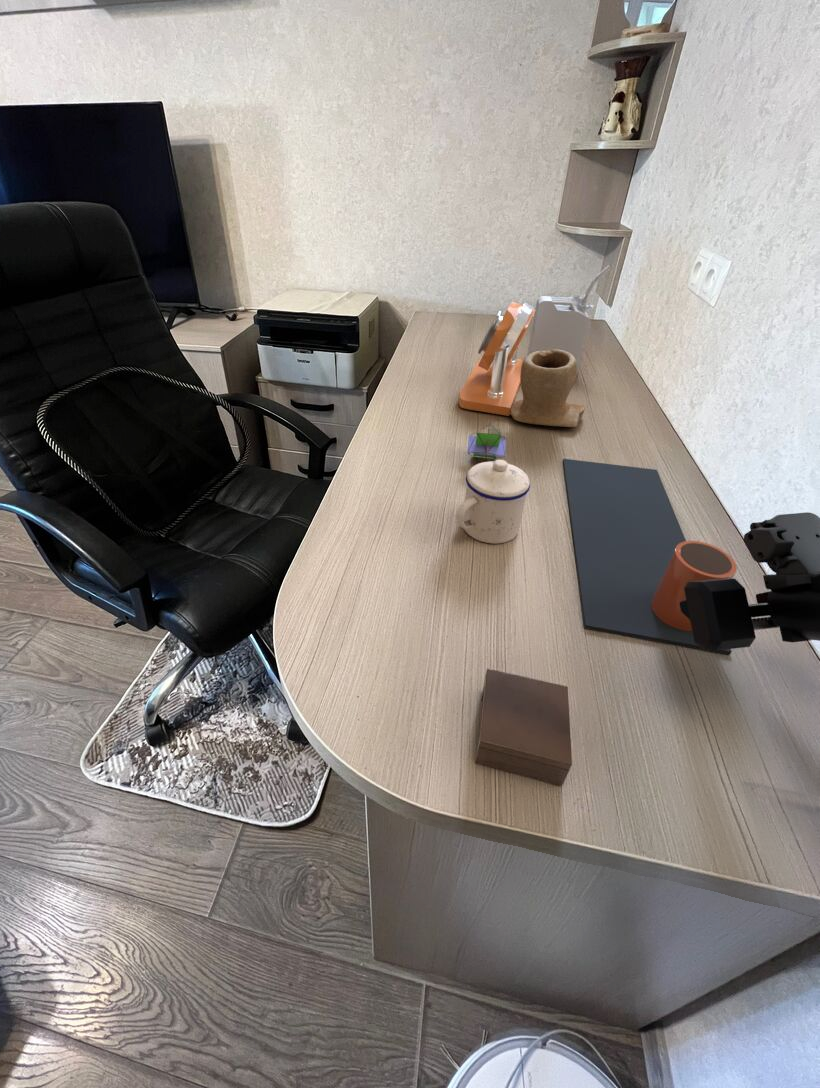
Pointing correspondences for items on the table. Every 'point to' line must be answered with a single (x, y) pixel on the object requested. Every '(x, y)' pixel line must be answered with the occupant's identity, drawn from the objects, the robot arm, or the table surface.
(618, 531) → the desk mat
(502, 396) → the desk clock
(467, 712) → the table surface
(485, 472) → the teacup with lid
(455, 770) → the table surface
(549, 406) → the stone cup
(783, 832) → the table surface
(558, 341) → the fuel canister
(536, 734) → the brown square slab
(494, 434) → the geometric puzzle
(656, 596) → the cup
